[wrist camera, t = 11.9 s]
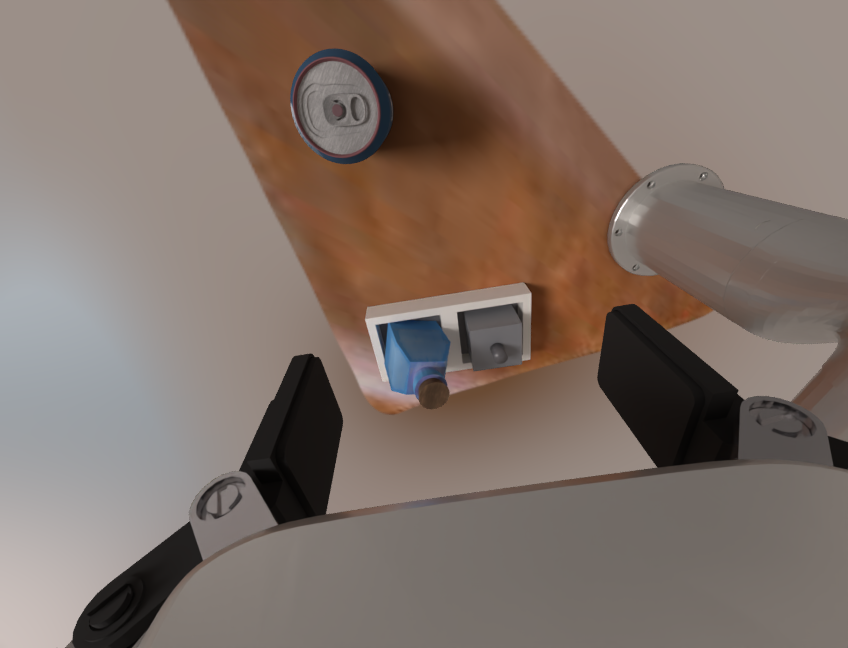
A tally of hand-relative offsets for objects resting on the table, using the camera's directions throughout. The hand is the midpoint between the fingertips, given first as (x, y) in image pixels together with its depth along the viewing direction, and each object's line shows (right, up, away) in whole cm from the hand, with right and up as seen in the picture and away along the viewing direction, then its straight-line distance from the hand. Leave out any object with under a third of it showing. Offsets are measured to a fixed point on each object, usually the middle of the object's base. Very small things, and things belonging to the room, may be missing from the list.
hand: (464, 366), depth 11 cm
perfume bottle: (-3, -1, +34) cm, 34 cm away
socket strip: (+2, +1, +35) cm, 35 cm away
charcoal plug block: (+7, +1, +34) cm, 35 cm away
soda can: (-8, +22, +22) cm, 32 cm away
